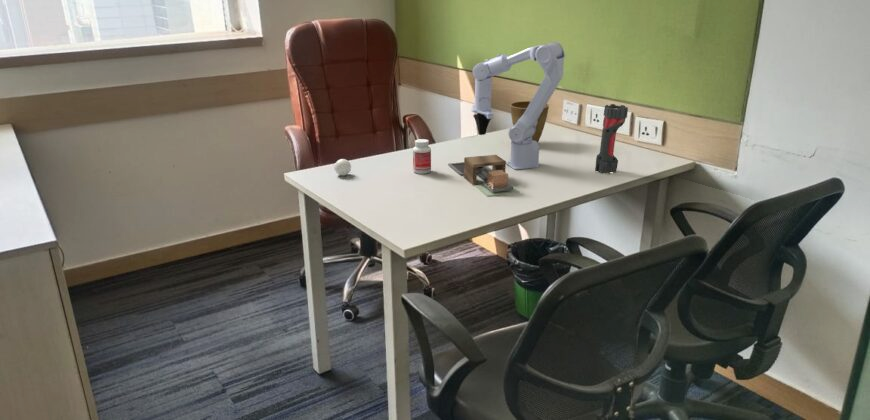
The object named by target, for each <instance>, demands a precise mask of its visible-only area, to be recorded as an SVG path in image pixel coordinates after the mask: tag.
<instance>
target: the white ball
mask: <svg viewBox="0 0 870 420" xmlns="http://www.w3.org/2000/svg"><path fill="white" fill-rule="evenodd" d="M334 171H335V172H336V174H338V175H339V176H343V177H344V176H347V175H349V174H350V173H351V171H352V165H351V162H350V161H349V160H347V159H345V158H340V159H337V161H336V162H335V163H334Z"/></svg>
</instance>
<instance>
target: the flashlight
mask: <svg viewBox="0 0 870 420" xmlns="http://www.w3.org/2000/svg"><path fill="white" fill-rule="evenodd" d="M628 109H629V108H628V107H627V106H626V105H624V104H623V105H622V104H621V105H616V104H615V103H611V104H609V105H608V104H606V105H604V111H603V116H604V117H603V121H602V129H601V131H602V132H601V140H600V147H599V148H600V149H599V153H598V154H597V155H596V159H595V167H594V171H595V172H596V171H599V172H598V173H601V174H603V173H605V174H606V173H609V172H614V171H616V170H618V164H619V159H618V158H617V157H616V156H615V155H614V149H615V144H616V136H617V135H616V134H617V131H618V130H619V129H620V128H621V127H622V126H623V125H624V124H625V122H626V119H627V118H628V113H629V111H628ZM616 172H617V171H616ZM614 173H615V172H614Z"/></svg>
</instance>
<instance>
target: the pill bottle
mask: <svg viewBox="0 0 870 420" xmlns="http://www.w3.org/2000/svg"><path fill="white" fill-rule="evenodd" d="M429 142H430V141H429V139H425V138H421V139H420V138H419V139H416V140H414V145H415V146H414V147H413V148H412V167H413V169H412V170H413V172H414V173H415V174H419V175H426V174H429V173H431V171H432V149H431V147H430V146H429V144H430V143H429Z"/></svg>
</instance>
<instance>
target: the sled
mask: <svg viewBox="0 0 870 420" xmlns="http://www.w3.org/2000/svg"><path fill="white" fill-rule="evenodd" d="M477 156H478V155H477ZM477 156H474V157H477ZM467 157H468V156H467ZM467 157H466V156H465V157H464V158H467ZM481 168H483V167H477V175H478V176H479V177H481V178H482V179H484V180H485V181H484V180H483V181H482V185H484V186H485V187H487V188H488V189H489V190H490V191H492V192H500V191H508V190H513V187H514V186H513V185H512V184H510V183H509V173H507V172H506V171H505V172H504V171H503V170H495V171H487V173H486V172H484V171H483V170H482V169H481Z"/></svg>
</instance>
